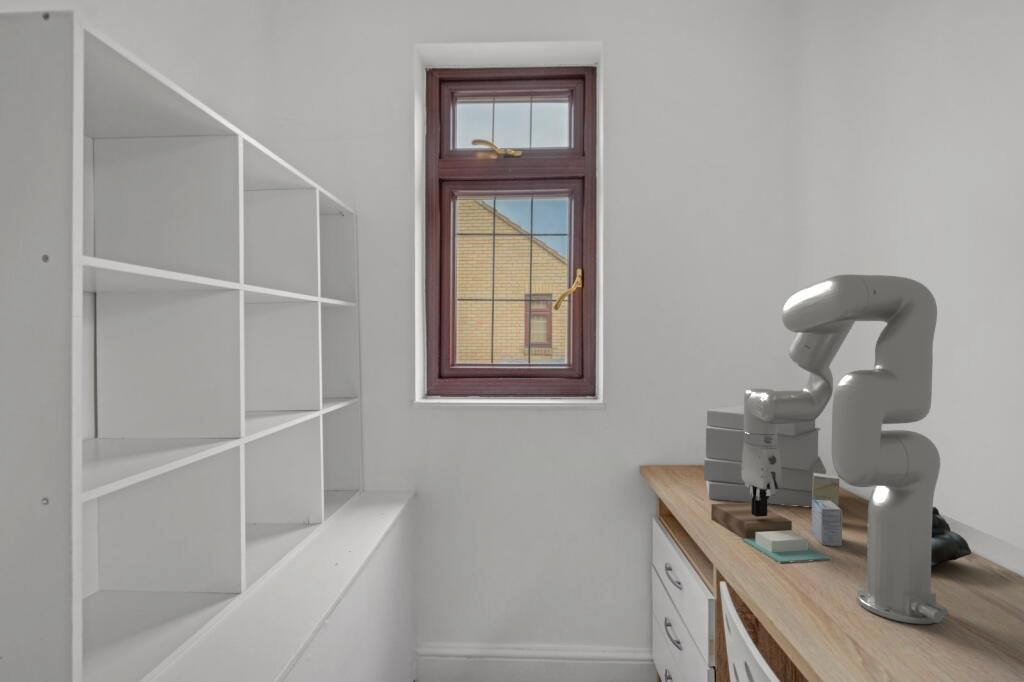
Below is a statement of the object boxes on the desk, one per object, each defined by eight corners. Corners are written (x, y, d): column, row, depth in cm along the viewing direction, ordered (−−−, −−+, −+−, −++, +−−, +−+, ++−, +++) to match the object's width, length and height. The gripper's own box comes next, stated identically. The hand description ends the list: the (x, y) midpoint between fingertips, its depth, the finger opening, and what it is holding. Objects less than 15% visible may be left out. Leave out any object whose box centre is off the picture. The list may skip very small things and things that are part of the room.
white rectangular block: (790, 530, 137) (790, 540, 137) (755, 532, 135) (755, 542, 135) (807, 539, 131) (807, 550, 131) (771, 541, 129) (771, 552, 129)
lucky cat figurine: (903, 572, 120) (873, 504, 126) (888, 575, 130) (861, 512, 136) (984, 558, 116) (949, 489, 123) (961, 561, 127) (930, 497, 133)
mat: (829, 559, 126) (829, 558, 126) (779, 563, 124) (779, 561, 124) (787, 537, 140) (787, 536, 140) (742, 540, 138) (742, 538, 138)
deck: (791, 537, 140) (791, 521, 140) (746, 540, 138) (746, 523, 138) (752, 517, 156) (752, 502, 156) (711, 519, 154) (711, 504, 154)
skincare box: (811, 521, 153) (812, 475, 152) (811, 517, 156) (812, 472, 156) (838, 525, 150) (839, 478, 150) (838, 520, 154) (839, 474, 153)
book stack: (839, 514, 159) (840, 420, 159) (704, 503, 169) (706, 414, 169) (814, 487, 188) (816, 408, 188) (701, 479, 198) (702, 403, 198)
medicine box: (842, 547, 134) (842, 509, 134) (821, 545, 135) (821, 508, 135) (830, 535, 142) (831, 500, 142) (811, 534, 143) (811, 499, 143)
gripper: (794, 445, 135) (793, 524, 135) (756, 434, 149) (755, 505, 149) (764, 445, 133) (763, 525, 133) (729, 435, 148) (728, 507, 148)
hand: (759, 515), depth 141 cm, fingers closed
